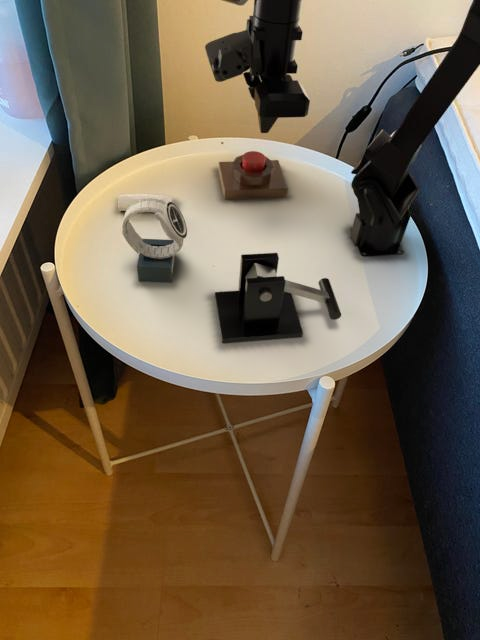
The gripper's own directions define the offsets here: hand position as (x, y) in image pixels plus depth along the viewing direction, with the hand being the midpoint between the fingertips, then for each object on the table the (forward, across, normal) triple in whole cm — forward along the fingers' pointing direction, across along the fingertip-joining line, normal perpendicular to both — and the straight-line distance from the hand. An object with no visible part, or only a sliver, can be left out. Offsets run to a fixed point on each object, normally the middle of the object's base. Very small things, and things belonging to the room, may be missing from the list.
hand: (263, 131), depth 79 cm
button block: (+11, -4, 0) cm, 12 cm away
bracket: (+11, +25, -5) cm, 28 cm away
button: (+8, -4, 0) cm, 9 cm away
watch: (+12, +15, -16) cm, 25 cm away
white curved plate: (+12, +1, -17) cm, 21 cm away
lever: (+7, +25, -1) cm, 26 cm away
